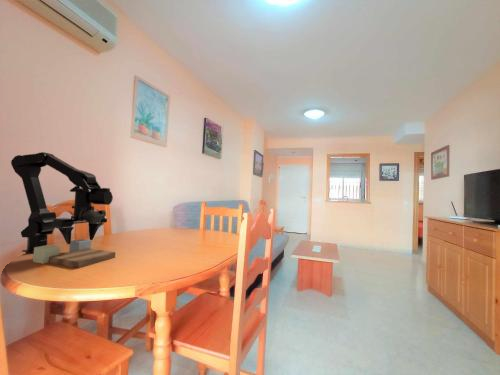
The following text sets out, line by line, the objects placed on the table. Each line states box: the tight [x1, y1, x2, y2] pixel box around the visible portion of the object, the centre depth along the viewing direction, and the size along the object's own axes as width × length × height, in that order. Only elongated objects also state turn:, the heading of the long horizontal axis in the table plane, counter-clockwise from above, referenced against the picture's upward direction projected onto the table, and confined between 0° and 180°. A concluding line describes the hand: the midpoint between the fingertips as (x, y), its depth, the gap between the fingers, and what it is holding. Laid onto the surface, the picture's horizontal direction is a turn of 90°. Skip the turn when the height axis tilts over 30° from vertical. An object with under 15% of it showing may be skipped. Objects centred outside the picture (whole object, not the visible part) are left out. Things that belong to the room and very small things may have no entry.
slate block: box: [68, 238, 92, 253], centre depth 93 cm, size 5×5×5 cm
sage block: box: [32, 244, 61, 264], centre depth 81 cm, size 5×5×5 cm
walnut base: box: [48, 247, 116, 269], centre depth 84 cm, size 14×14×2 cm
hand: (80, 242), depth 93 cm, fingers open, 9 cm apart
